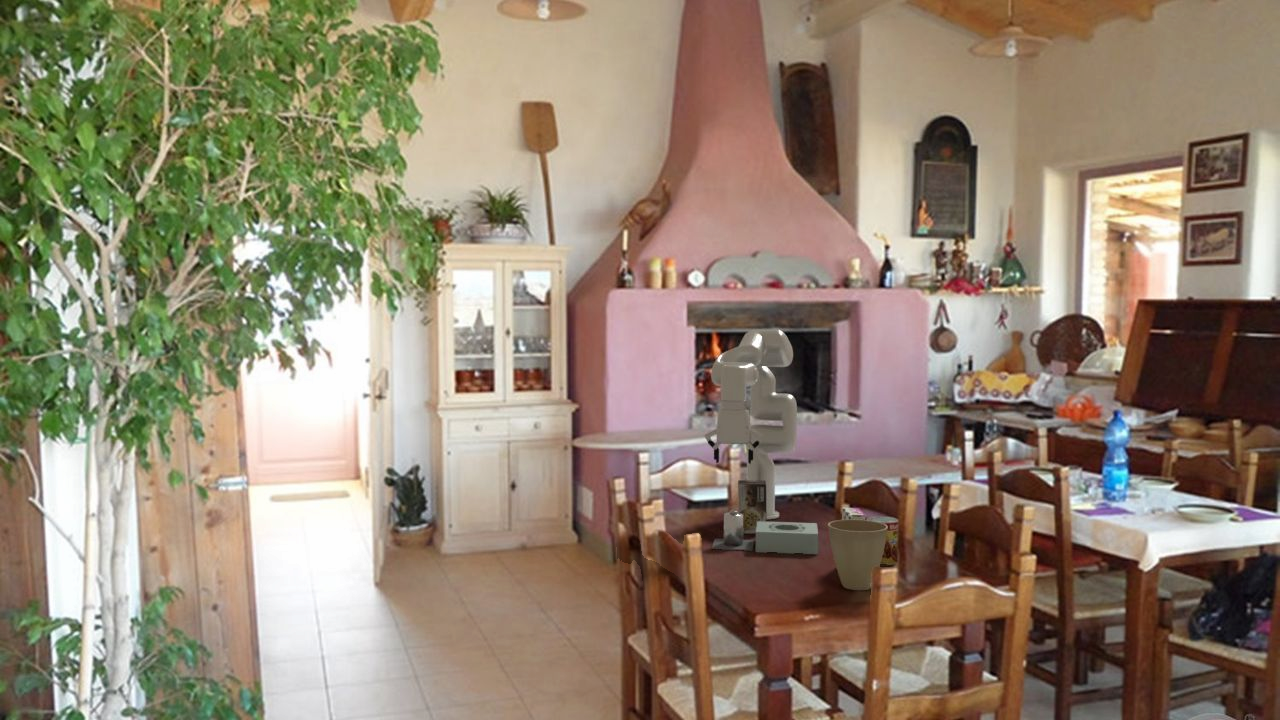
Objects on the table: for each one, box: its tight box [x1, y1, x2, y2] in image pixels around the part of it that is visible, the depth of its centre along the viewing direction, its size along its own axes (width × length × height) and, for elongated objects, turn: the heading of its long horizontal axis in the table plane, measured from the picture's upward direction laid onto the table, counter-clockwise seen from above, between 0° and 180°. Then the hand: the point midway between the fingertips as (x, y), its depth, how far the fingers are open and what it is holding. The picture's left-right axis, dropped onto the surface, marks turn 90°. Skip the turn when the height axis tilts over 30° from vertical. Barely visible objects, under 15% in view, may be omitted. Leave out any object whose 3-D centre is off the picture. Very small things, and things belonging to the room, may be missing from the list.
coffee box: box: [737, 479, 768, 534], centre depth 305 cm, size 9×6×16 cm
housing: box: [755, 521, 819, 555], centre depth 285 cm, size 14×18×6 cm
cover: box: [723, 509, 744, 546], centre depth 287 cm, size 6×6×10 cm
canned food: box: [869, 515, 899, 566], centre depth 269 cm, size 8×8×12 cm
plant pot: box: [827, 519, 888, 591], centre depth 244 cm, size 15×15×16 cm
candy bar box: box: [841, 507, 868, 520], centre depth 259 cm, size 11×5×16 cm, turn 178°
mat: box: [711, 538, 755, 552], centre depth 287 cm, size 12×12×1 cm
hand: (733, 462), depth 286 cm, fingers open, 9 cm apart
